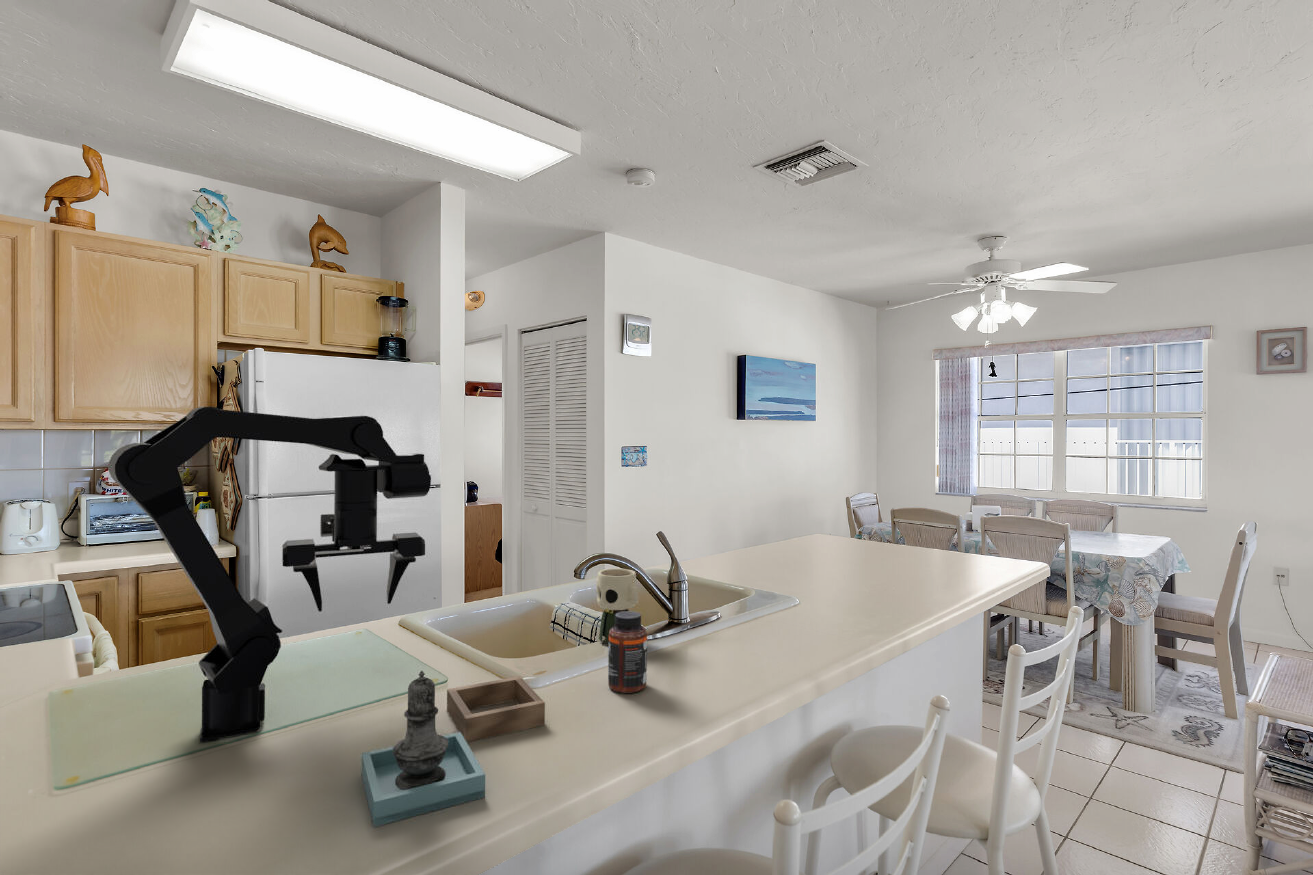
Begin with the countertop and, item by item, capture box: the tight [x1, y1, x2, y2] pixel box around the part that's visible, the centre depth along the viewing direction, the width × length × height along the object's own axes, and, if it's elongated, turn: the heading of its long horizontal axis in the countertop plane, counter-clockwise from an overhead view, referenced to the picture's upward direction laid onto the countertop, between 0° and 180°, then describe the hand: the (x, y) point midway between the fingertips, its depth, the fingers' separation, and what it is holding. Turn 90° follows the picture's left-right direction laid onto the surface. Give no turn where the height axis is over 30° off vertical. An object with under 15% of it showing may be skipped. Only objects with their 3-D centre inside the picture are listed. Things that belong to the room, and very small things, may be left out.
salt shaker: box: [393, 670, 449, 790], centre depth 73 cm, size 6×6×12 cm
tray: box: [360, 731, 486, 828], centre depth 73 cm, size 11×11×2 cm
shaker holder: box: [446, 676, 546, 743], centre depth 90 cm, size 10×10×3 cm
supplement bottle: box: [607, 610, 648, 694], centre depth 102 cm, size 6×6×11 cm
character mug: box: [596, 568, 639, 644], centre depth 123 cm, size 11×7×13 cm, turn 46°
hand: (355, 606), depth 97 cm, fingers open, 9 cm apart
